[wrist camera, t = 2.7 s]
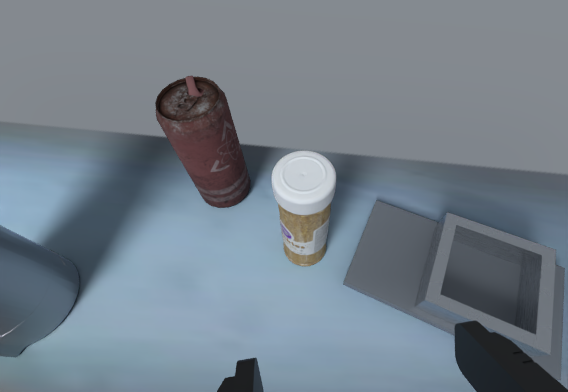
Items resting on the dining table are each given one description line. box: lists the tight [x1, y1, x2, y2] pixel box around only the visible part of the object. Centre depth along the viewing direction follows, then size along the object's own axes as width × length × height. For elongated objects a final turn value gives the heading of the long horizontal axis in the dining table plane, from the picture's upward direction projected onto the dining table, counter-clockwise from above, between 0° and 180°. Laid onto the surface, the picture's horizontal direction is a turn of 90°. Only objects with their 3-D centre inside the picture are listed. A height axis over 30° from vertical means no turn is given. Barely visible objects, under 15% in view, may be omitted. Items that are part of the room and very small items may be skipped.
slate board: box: [343, 200, 565, 380], centre depth 29 cm, size 10×18×1 cm, turn 64°
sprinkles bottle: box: [272, 151, 336, 266], centre depth 26 cm, size 5×4×13 cm
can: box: [156, 76, 250, 208], centre depth 31 cm, size 6×6×14 cm
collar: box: [414, 212, 556, 357], centre depth 27 cm, size 9×9×3 cm
